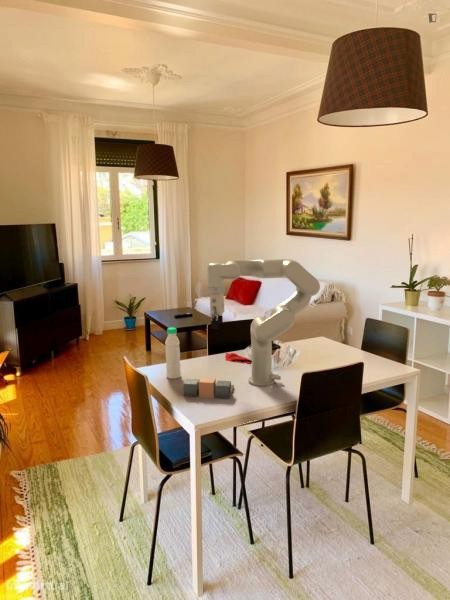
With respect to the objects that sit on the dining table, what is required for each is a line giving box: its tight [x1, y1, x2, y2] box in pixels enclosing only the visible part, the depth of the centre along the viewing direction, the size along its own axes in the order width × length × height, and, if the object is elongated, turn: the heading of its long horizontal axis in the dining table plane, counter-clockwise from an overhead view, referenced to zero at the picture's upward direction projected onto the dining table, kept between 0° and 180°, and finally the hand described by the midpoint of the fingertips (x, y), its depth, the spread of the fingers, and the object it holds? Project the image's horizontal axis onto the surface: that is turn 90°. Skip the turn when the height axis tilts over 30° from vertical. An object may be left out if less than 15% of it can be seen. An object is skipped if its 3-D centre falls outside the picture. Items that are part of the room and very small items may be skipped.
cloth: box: [224, 352, 252, 365], centre depth 254 cm, size 26×14×2 cm, turn 21°
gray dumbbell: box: [181, 378, 235, 400], centre depth 206 cm, size 22×13×6 cm, turn 79°
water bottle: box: [164, 327, 182, 380], centre depth 225 cm, size 7×7×25 cm
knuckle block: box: [198, 377, 217, 399], centre depth 203 cm, size 6×5×7 cm
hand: (217, 326), depth 211 cm, fingers open, 9 cm apart
